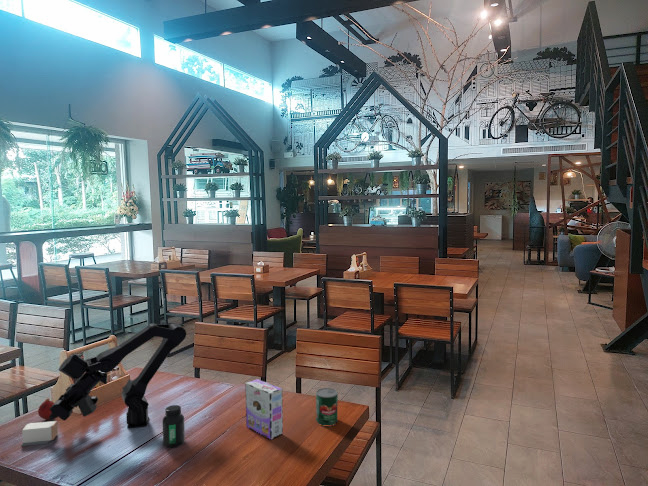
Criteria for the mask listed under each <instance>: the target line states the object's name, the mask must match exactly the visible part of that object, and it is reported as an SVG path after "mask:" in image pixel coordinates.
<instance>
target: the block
mask: <svg viewBox="0 0 648 486" xmlns="http://www.w3.org/2000/svg"><path fill="white" fill-rule="evenodd" d="M58 428H59V427H58V420H52V421H51V420H50V421H42V422H30V423H27V424H26V425H25V426H24V428H23V429H22V434H21V435H22V444H23V443H29V442H39V441H49V440H51V441H53V440H54V439H55V438H56V437H57V435H58V433H59V432H58V431H59V430H58Z"/></svg>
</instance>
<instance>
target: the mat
mask: <svg viewBox="0 0 648 486" xmlns="http://www.w3.org/2000/svg"><path fill="white" fill-rule="evenodd" d="M51 441H52V440H49V441H39V442H29V443H23V442H22V444H21V447H26V446H27V447H28V446H35V445H37V446H38V445H46V444H49V443H50V442H51Z"/></svg>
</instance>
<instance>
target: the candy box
mask: <svg viewBox="0 0 648 486" xmlns="http://www.w3.org/2000/svg"><path fill="white" fill-rule="evenodd" d="M244 384H245V417H246V418H245V419H246V421H245V422H246V423H245V426H246V428H247V427H248V429H249V428H250V430H251V429H252V430H251V431H253V430H254V431H253V432H255V431H256V432H255V433H257V432H258V433H257V434H259V433H260V434H259V435H260V436H262V437H265V436H266V437H267V438H266V437H265V438H266V439H268V438H269V440H270V439H271V440H273V438H274V437H276V438H277V436H278V437H280V436H282V435H283V434H284V432H283V431H284V428H283V426H284V425H283V424H284V423H283V422H284V421H283V416H284V415H283V411H284V409H283V388H281V387H279V386H277V385H274V384H271V383H269V382H266V381H264V380H261V379H259V378H256V379H254V380H250V381H247V382H245V383H244ZM282 433H283V434H282ZM281 434H282V435H281ZM279 435H280V436H279ZM274 439H275V438H274Z"/></svg>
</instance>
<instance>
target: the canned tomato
mask: <svg viewBox="0 0 648 486" xmlns="http://www.w3.org/2000/svg"><path fill="white" fill-rule="evenodd" d="M315 394H316V395H315V399H316V400H315V410H316V411H315V418H316V419H315V422H316V421H317V422H318V423H319V424H321V425H333V424H335V423H336V422H337V423H338V401H339V400H338V398H339V397H338V395H339V392H338V391H337V389H334V388H330V387H323V388H320V389H317V390H316V392H315ZM335 425H336V424H335ZM333 426H334V425H333Z"/></svg>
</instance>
